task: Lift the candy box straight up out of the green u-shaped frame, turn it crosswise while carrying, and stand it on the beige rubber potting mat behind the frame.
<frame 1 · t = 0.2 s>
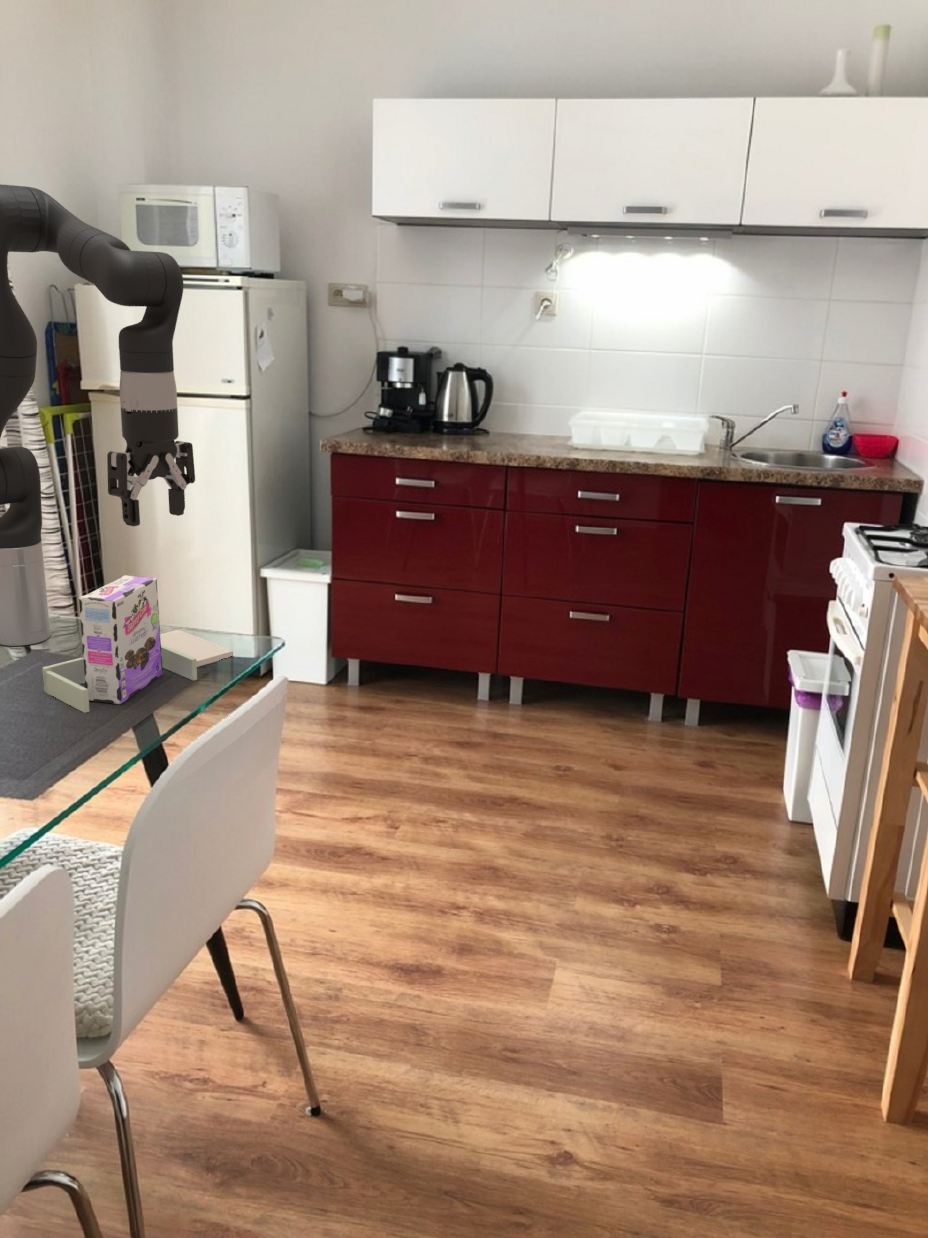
hand: (155, 519, 149), 28 cm above the table, fingers open, 8 cm apart
green u-shaped frame: (126, 687, 163), on the table
candy box: (126, 688, 163), on the table
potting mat: (180, 652, 179), on the table
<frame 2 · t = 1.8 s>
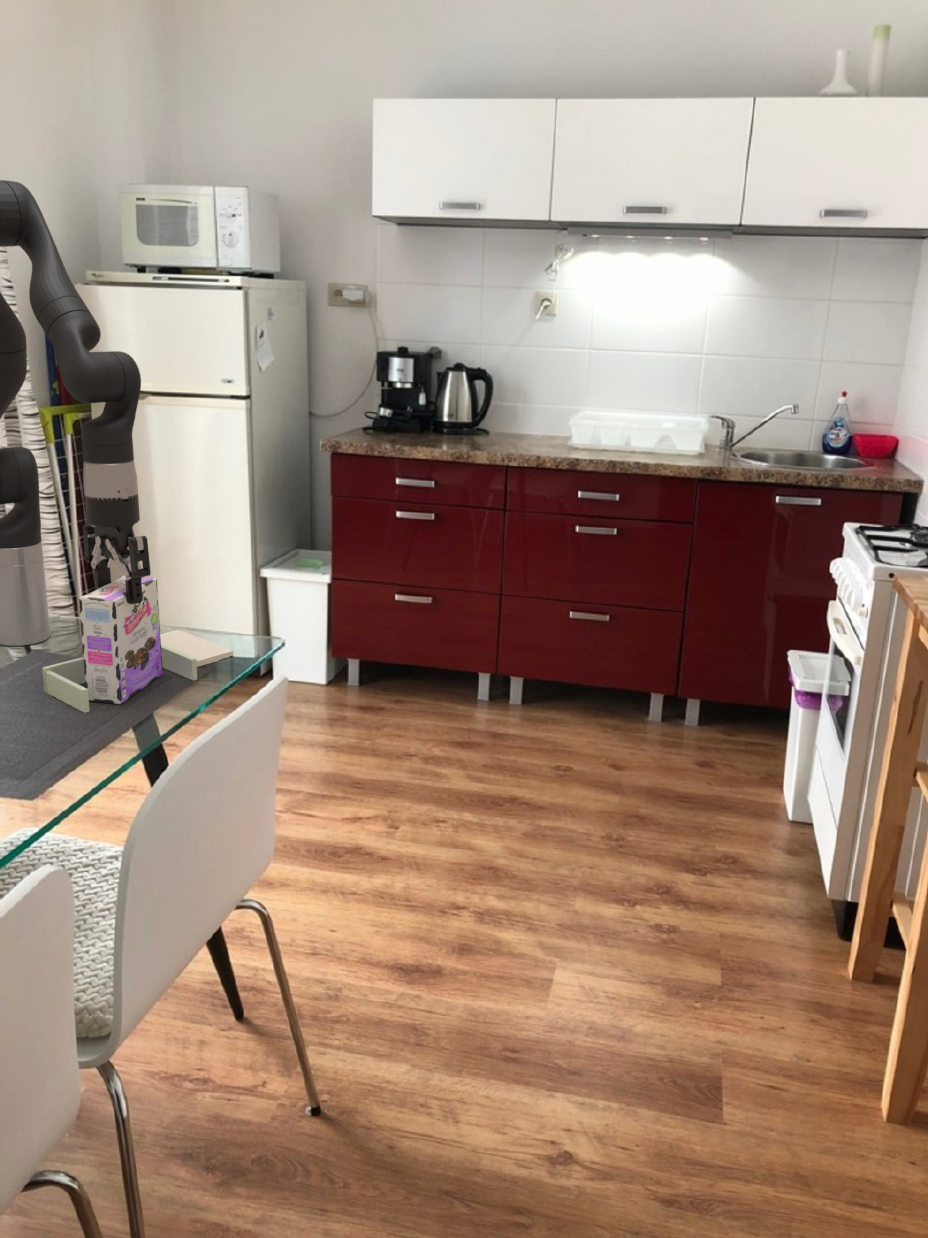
hand: (119, 597, 158), 15 cm above the table, fingers open, 8 cm apart
candy box: (126, 688, 163), on the table, touching gripper
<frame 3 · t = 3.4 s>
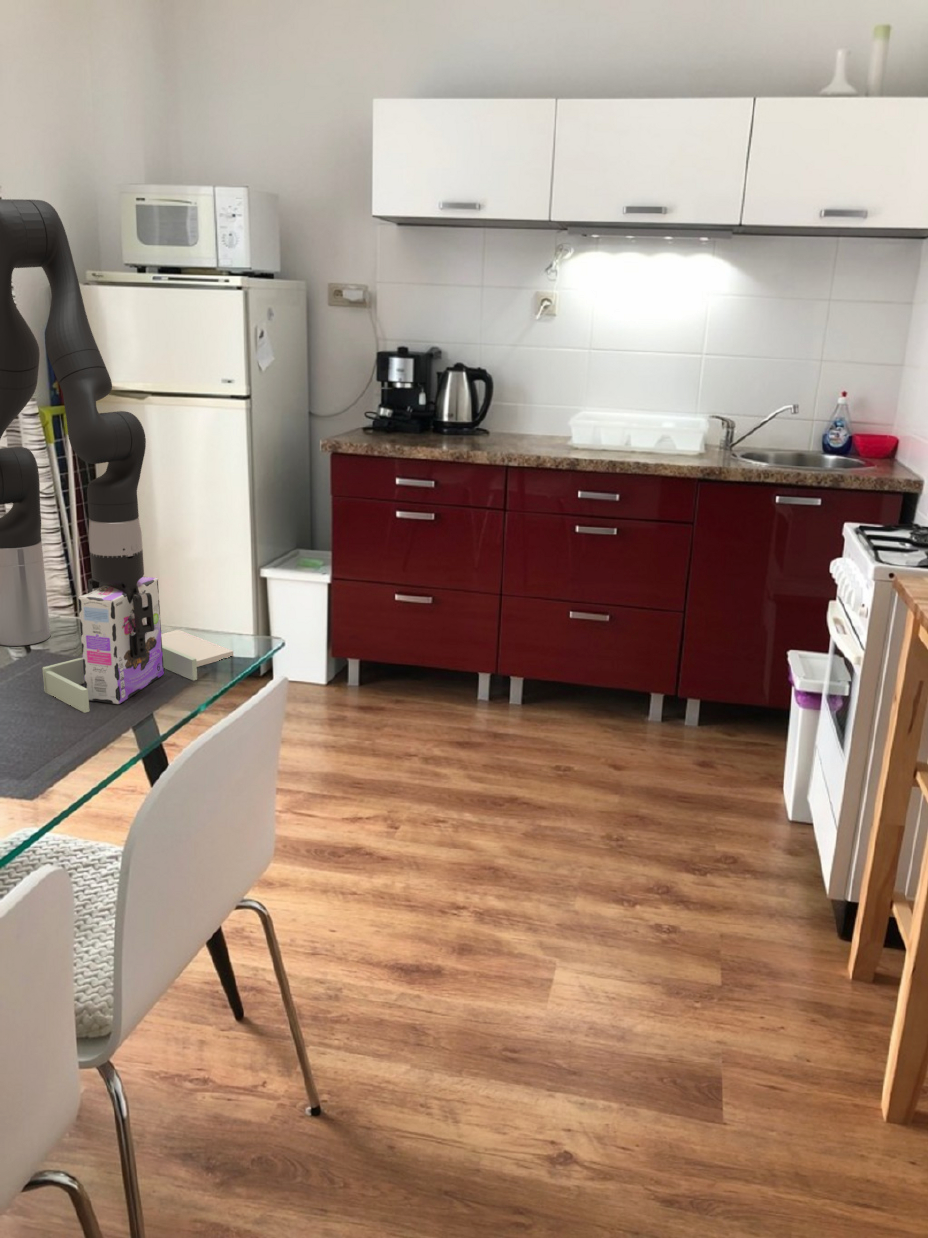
hand: (123, 650, 161), 6 cm above the table, fingers closed on candy box, 8 cm apart
candy box: (126, 688, 163), on the table, touching gripper
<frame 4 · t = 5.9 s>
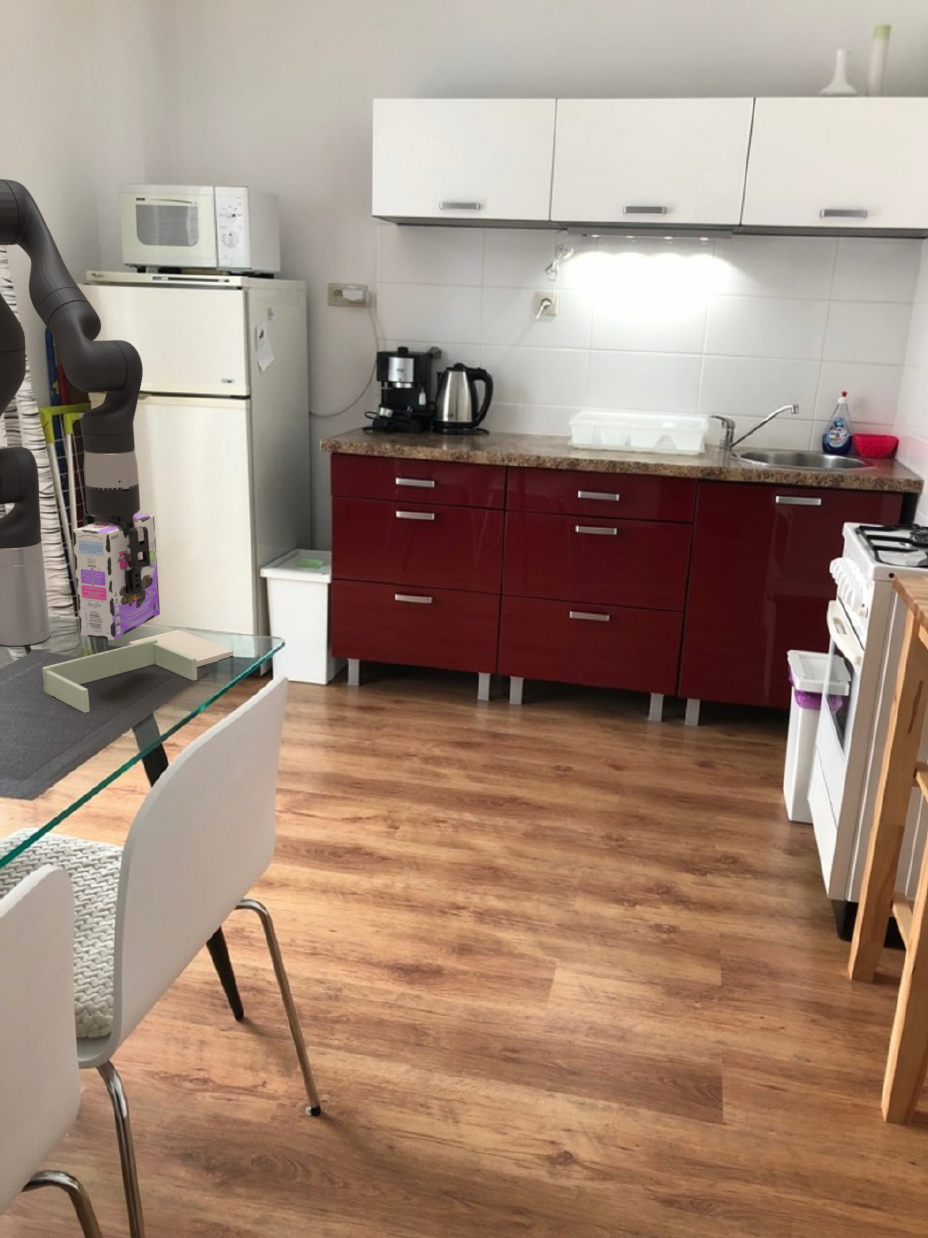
hand: (119, 587, 158), 16 cm above the table, fingers closed on candy box, 8 cm apart
candy box: (121, 626, 160), point 10 cm above the table, touching gripper
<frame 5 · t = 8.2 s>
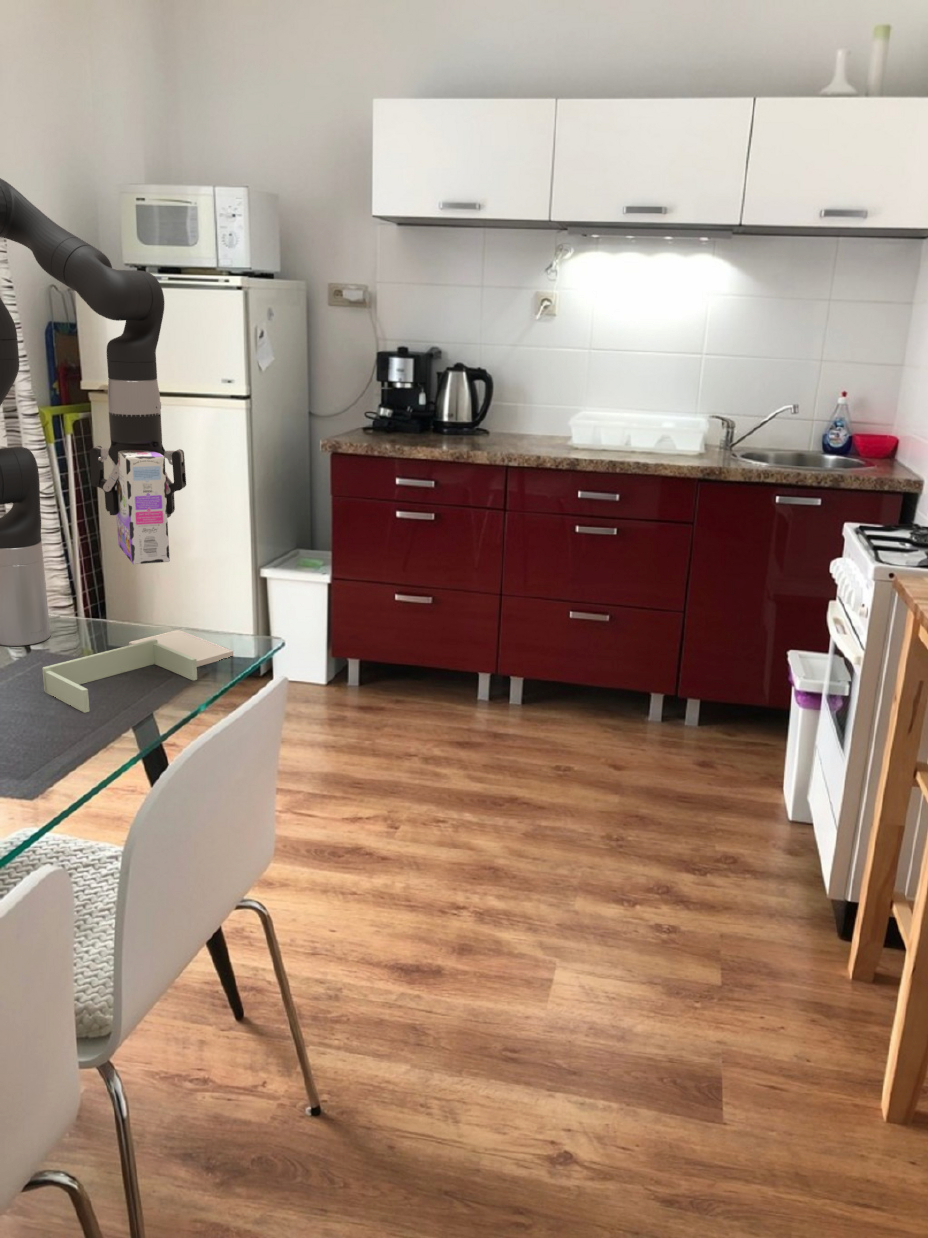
hand: (140, 515, 162), 26 cm above the table, fingers closed on candy box, 8 cm apart
candy box: (143, 554, 164), point 19 cm above the table, touching gripper
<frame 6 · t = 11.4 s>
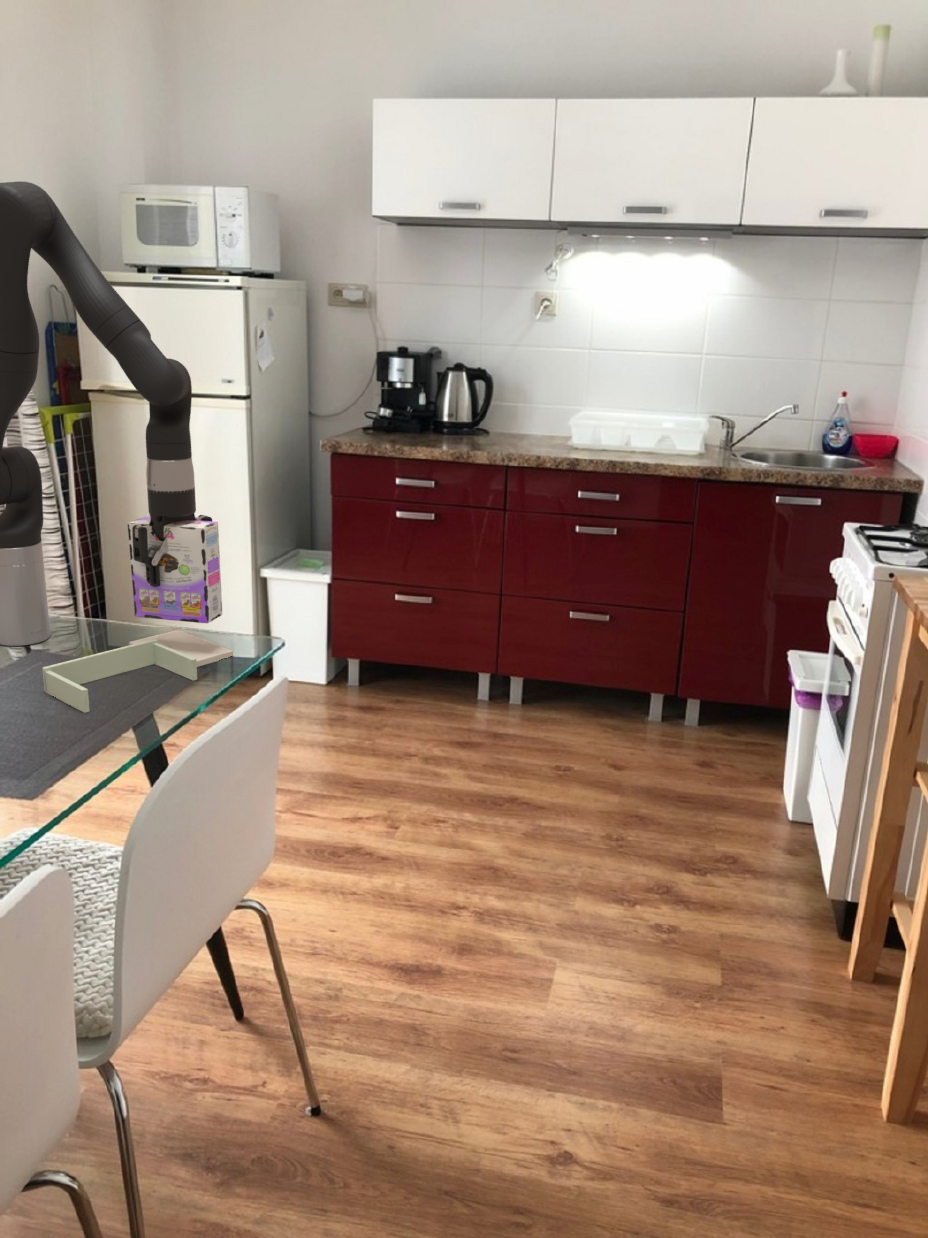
hand: (176, 581, 175), 13 cm above the table, fingers closed on candy box, 8 cm apart
candy box: (178, 617, 177), point 6 cm above the table, touching gripper
when the fingers open (8 cm above the table, at t = 13.4 s): candy box drops 1 cm, resting on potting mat.
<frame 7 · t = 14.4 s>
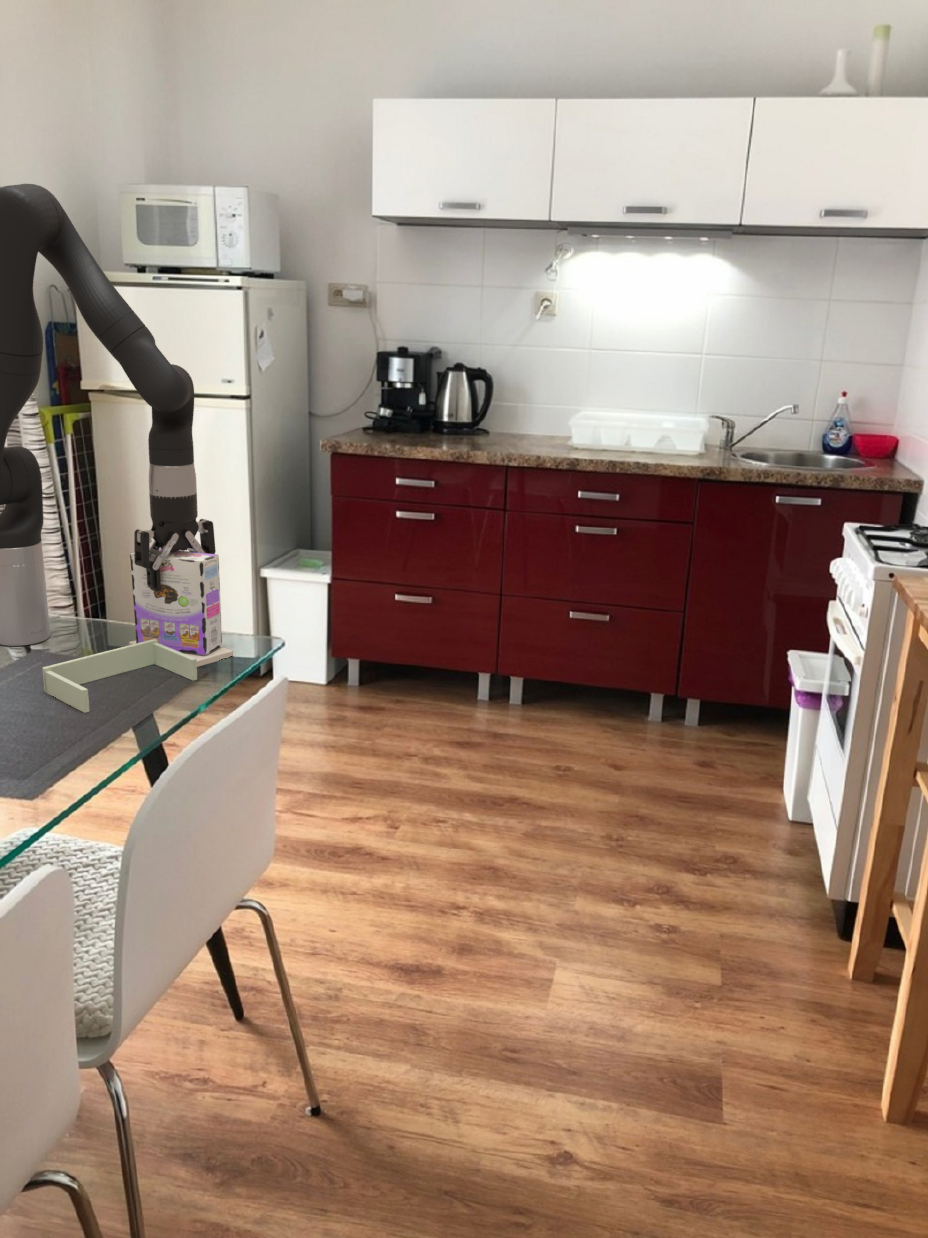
hand: (177, 585, 176), 12 cm above the table, fingers open, 8 cm apart
candy box: (179, 647, 179), point 1 cm above the table, touching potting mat
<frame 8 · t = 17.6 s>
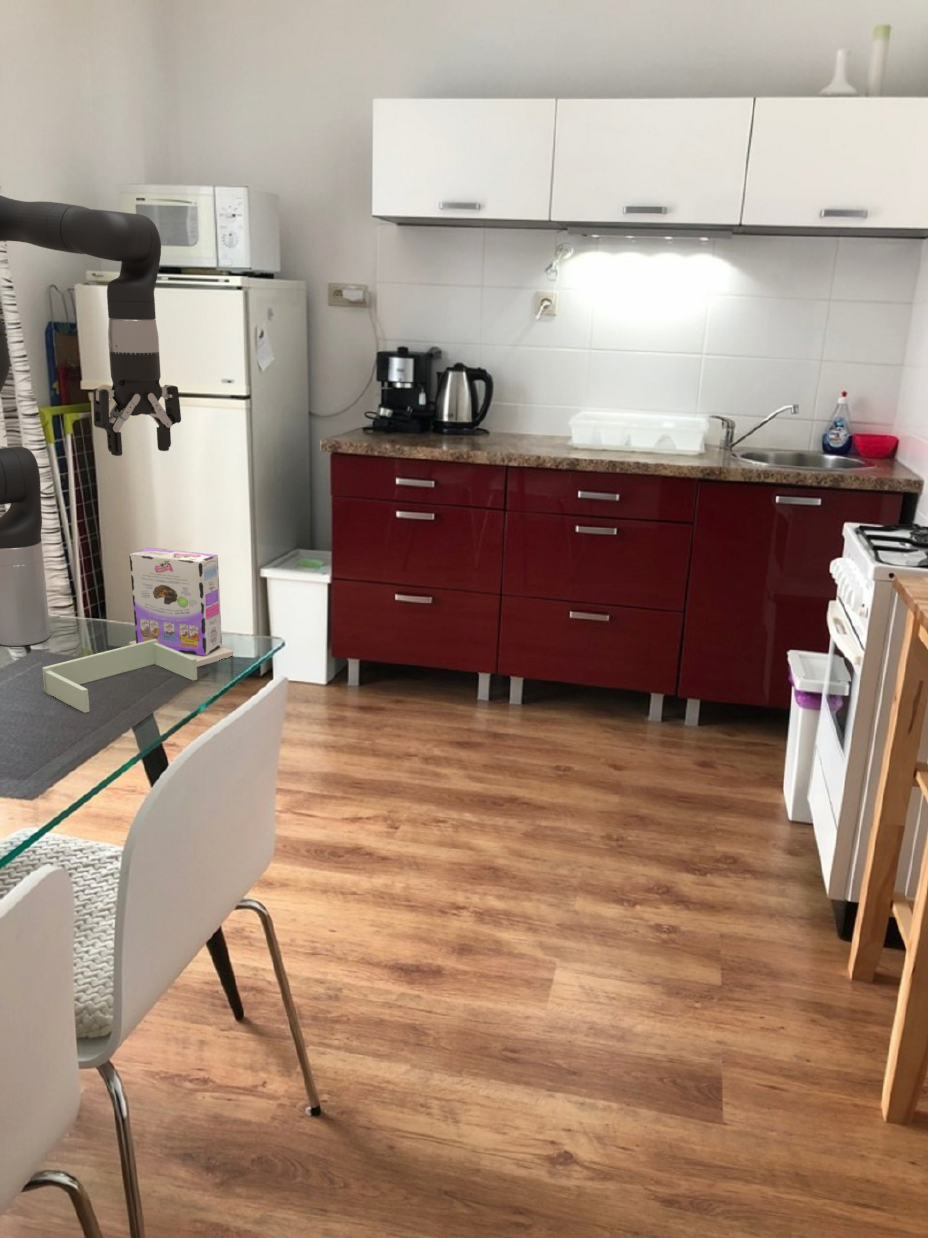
hand: (140, 452, 168), 34 cm above the table, fingers open, 8 cm apart
nothing on the table moved.
at the end: candy box 0.2 cm off-centre on the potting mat, point 0.8 cm above the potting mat's base; candy box tilted 0°; the gripper is holding nothing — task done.
